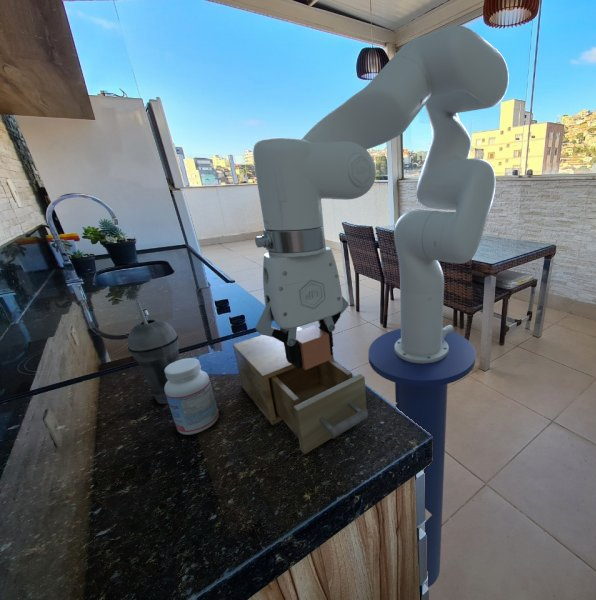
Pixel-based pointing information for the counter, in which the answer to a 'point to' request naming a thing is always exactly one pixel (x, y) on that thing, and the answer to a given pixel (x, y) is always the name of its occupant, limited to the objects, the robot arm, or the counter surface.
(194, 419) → the pill bottle
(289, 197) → the robot arm
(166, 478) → the counter surface
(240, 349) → the cabinet
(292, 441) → the counter surface
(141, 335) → the beverage cup
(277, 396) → the drawer
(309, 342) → the block
